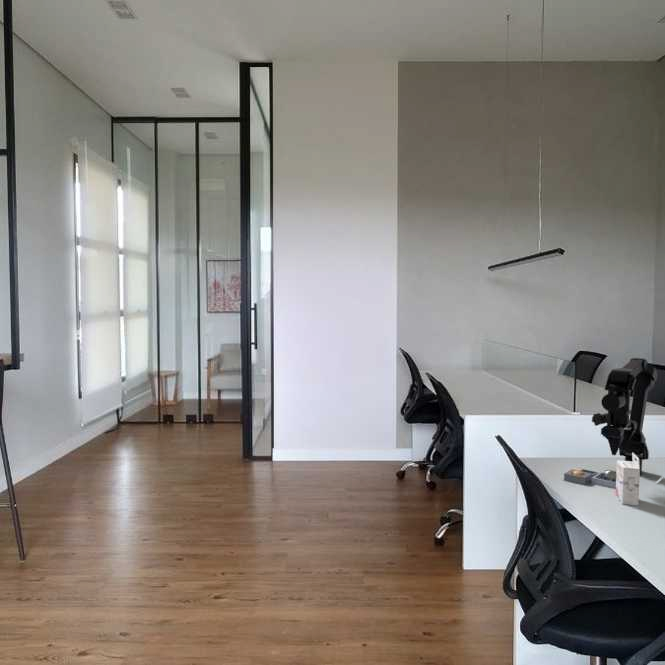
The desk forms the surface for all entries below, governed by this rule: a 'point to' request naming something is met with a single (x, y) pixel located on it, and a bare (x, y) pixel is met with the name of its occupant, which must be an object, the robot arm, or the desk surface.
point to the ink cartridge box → (628, 481)
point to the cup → (602, 481)
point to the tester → (579, 476)
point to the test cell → (610, 475)
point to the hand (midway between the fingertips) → (618, 452)
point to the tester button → (578, 473)
